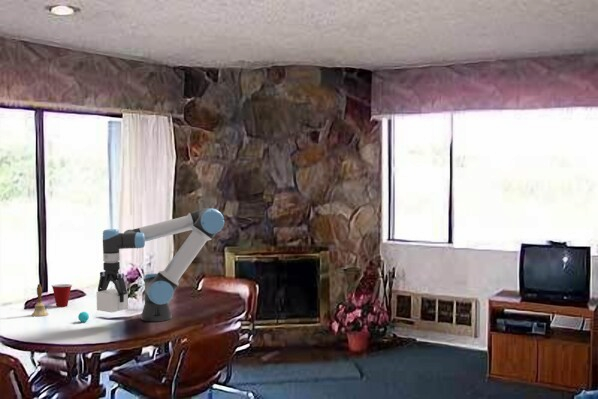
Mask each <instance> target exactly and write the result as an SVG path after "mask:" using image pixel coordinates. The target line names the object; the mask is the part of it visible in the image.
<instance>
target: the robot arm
mask: <svg viewBox="0 0 598 399" xmlns="http://www.w3.org/2000/svg"><path fill="white" fill-rule="evenodd" d="M224 226H225V217H224V215H223V213H222V212H220V211H219V210H218V209H216V208H212V207H204V208H201V209H198V210H195V211H192V212H188V214H187V215H184V216H181V217H176V218H173V219H169V220H165V221H161V222H156V223H153V224H150V225H145V226H141V227H137V228H133V229H127V230H125V231H124V232H122V233H121V232H120V230H119V229H118V228H108V229H107V228H106V229H103V231H102V259H103V260H102V261H103V264H102V266H103V271H100V272H99V281H98V285H97V292H99V291H103V290H108V288H109V285H110V282H112V284H114V287H115V289H117V292H118V294H119V295H118V309H123V302H124V295H125V294H127V287H126V286H127V285H126V281H125V277H124V276H125V274H124V273H120V272H119V270H120V268H121V266H120V265H121V264H120V250H125V249H142V248H144V247H145V246H146V242H148V241H154V240H157V239H161V238H165V237H168V236H173V235H176V234H182V233H184V232H189V231H191V233H190V234H189V235H188V237H187V238H186V240H185V241H184V242H183V244H182V245H181V246H180V248H178V250H177V251H176V253H175V254H174V256H173V257H172V259H171V260H170V261H169V263H168V265H166V266H165V268H164V269H163V270H160V271H158V272H157V273H155V272H154V273H145V275H144V305H143V308H142V313H141V314H140V315H141V316H140V319H141V320H142V321H145V322H164V321H169V320H171V319H172V312H171V309H170V305H169V302H170V301H171V300H172V298H173V297H174V293H175V291H176V289H177V288H178V287H179V285H180V284H179V280H180V278H181V277H182V276H183V274H185V273H186V271H187V269H188V268H189V267H190V265H191V264H192V262H193V261H194V259H195V258H196V257H197V255H198V254H199V252H200V251H201V250H202V248H203V247H204V246H205V244H206V243H207V242H208V241H212V240H213V238H214V237H215V236H216V235H217V233H219V232H221V230H222V229H223V227H224Z"/></svg>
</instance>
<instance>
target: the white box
mask: <svg viewBox="0 0 598 399" xmlns="http://www.w3.org/2000/svg"><path fill="white" fill-rule="evenodd" d="M126 290H127V289H126ZM128 293H129V290H127V294H125V295H124V302H123V309H118V295H119V294H118V292H117V289H116V288H109V289H108V288H107V290H103V291H99V292H98V291H96V311H98V312H99V311H100V312H105V313H116V312H119V311H123V310H124V311H125V310H128V309H129V298H128V297H129V296H128V295H129V294H128Z"/></svg>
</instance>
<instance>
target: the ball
mask: <svg viewBox="0 0 598 399" xmlns="http://www.w3.org/2000/svg"><path fill="white" fill-rule="evenodd" d="M77 317H78V320H79V322H81V323H85V322H87V321H88V320H89V318H90V314H89V313H88V312H86V311H82V312H80V313H79V314H78V316H77Z"/></svg>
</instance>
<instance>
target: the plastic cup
mask: <svg viewBox="0 0 598 399" xmlns="http://www.w3.org/2000/svg"><path fill="white" fill-rule="evenodd" d="M72 286H73V284H66V283H59V284H58V283H57V284H52V285H51V287H52V290H53V296H54V300H55V301H54V302H55V306H56V307H57V308H65V307H68V304H69V300H70V295H71V294H70V293H71V290H72Z"/></svg>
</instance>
